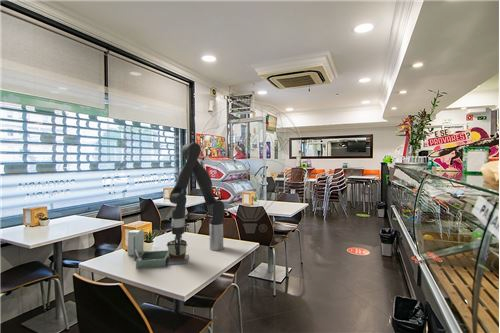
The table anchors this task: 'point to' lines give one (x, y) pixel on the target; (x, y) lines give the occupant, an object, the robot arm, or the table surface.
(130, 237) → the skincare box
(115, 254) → the table surface
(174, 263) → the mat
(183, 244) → the food container
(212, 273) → the table surface
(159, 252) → the case
